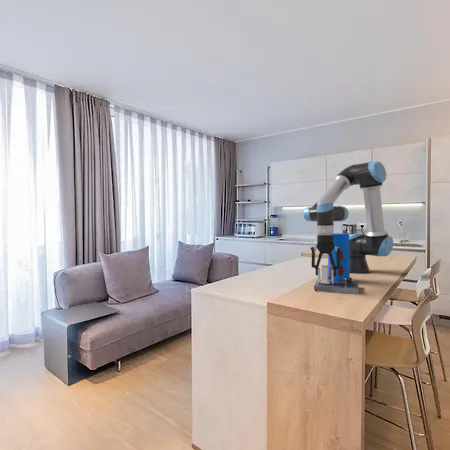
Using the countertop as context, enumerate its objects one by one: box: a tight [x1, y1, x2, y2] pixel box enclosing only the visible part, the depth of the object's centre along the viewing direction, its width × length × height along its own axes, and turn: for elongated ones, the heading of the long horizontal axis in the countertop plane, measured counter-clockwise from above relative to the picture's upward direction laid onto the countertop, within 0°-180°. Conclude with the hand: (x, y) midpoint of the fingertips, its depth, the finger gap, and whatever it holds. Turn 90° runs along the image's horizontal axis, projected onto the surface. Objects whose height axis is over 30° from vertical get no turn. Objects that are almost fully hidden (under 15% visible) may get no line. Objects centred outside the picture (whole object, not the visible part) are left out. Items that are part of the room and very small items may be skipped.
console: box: [313, 276, 359, 295], centre depth 144 cm, size 14×19×4 cm
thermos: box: [327, 232, 351, 281], centre depth 162 cm, size 11×11×25 cm
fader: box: [320, 264, 330, 284], centre depth 145 cm, size 5×4×8 cm
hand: (325, 282), depth 145 cm, fingers open, 5 cm apart
